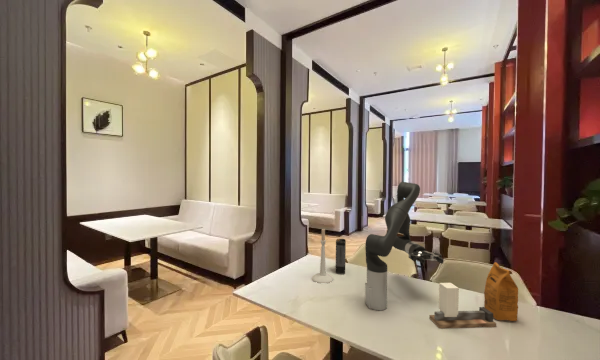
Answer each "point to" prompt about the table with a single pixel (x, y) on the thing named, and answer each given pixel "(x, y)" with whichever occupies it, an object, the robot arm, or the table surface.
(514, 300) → the coffee package
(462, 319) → the rail base
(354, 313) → the table surface
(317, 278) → the candlestick
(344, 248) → the electronic device
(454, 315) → the tall cream pillar
